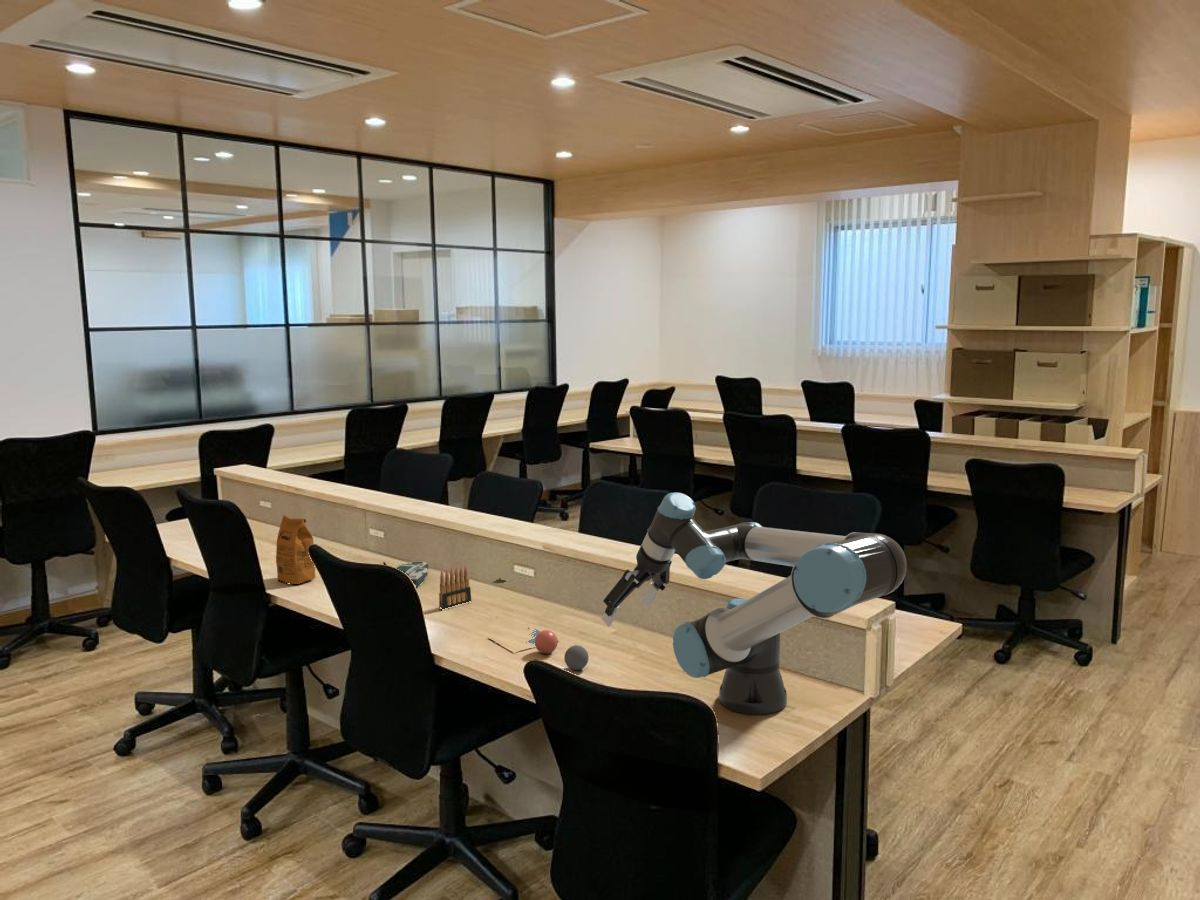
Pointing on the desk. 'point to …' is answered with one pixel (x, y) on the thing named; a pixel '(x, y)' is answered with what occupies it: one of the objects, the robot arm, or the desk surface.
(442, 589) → the ammunition clip
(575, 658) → the gray ball
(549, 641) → the object ball
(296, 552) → the coffee package
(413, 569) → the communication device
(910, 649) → the desk surface
